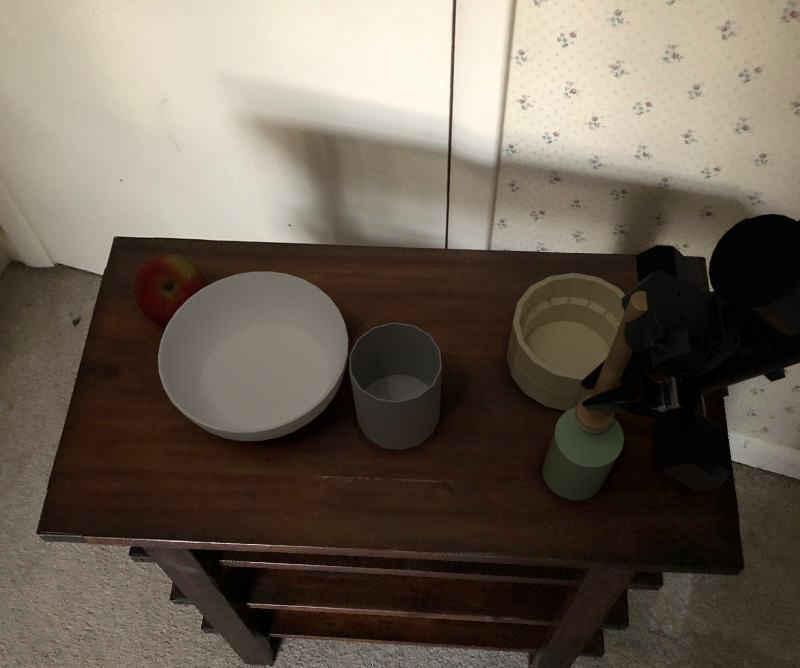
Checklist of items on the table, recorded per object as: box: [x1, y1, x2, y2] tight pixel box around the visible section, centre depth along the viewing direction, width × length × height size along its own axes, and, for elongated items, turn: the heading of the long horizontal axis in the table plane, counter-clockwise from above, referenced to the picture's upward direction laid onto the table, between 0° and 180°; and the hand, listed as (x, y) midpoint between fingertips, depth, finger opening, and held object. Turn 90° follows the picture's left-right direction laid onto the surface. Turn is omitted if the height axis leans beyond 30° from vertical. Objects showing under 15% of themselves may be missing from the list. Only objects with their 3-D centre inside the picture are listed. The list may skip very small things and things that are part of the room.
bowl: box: [157, 271, 349, 442], centre depth 76 cm, size 18×18×7 cm
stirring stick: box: [574, 291, 647, 433], centre depth 58 cm, size 3×3×17 cm
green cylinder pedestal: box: [541, 407, 625, 501], centre depth 71 cm, size 6×6×8 cm
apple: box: [133, 253, 208, 329], centre depth 81 cm, size 8×8×8 cm
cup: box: [348, 321, 443, 451], centre depth 73 cm, size 8×8×10 cm
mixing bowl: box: [506, 272, 626, 412], centre depth 77 cm, size 12×12×7 cm
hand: (584, 395), depth 63 cm, fingers closed on stirring stick
